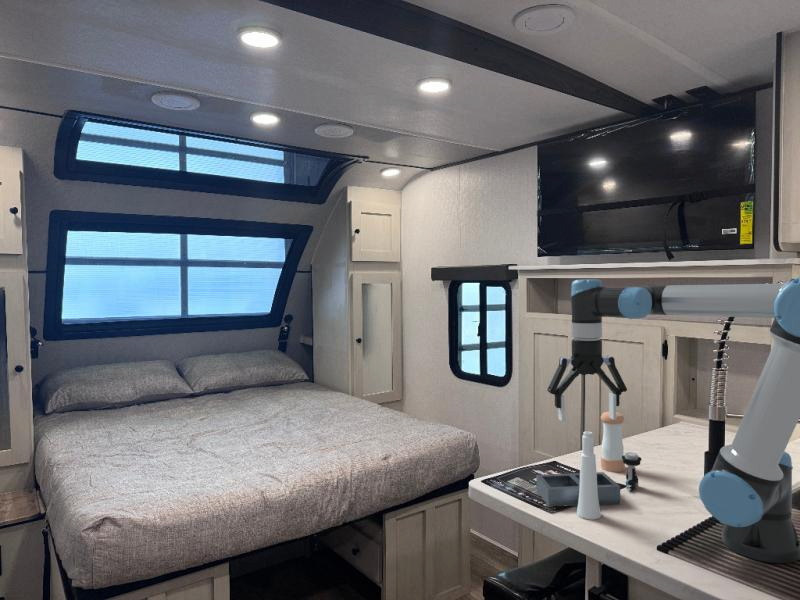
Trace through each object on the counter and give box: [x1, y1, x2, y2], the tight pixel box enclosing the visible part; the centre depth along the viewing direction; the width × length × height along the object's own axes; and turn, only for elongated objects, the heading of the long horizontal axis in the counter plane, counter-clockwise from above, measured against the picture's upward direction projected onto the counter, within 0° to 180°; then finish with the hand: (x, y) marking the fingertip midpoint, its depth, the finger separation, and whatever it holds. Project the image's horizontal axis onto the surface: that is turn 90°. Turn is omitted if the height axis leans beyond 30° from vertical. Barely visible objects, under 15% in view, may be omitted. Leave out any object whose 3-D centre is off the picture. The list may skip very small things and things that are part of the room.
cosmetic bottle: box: [576, 430, 602, 521], centre depth 142 cm, size 6×6×22 cm
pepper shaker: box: [600, 410, 626, 473], centre depth 176 cm, size 7×7×19 cm
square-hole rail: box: [535, 471, 621, 508], centre depth 154 cm, size 20×11×5 cm, turn 92°
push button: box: [622, 452, 642, 491], centre depth 159 cm, size 7×5×10 cm
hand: (587, 419), depth 142 cm, fingers open, 13 cm apart
